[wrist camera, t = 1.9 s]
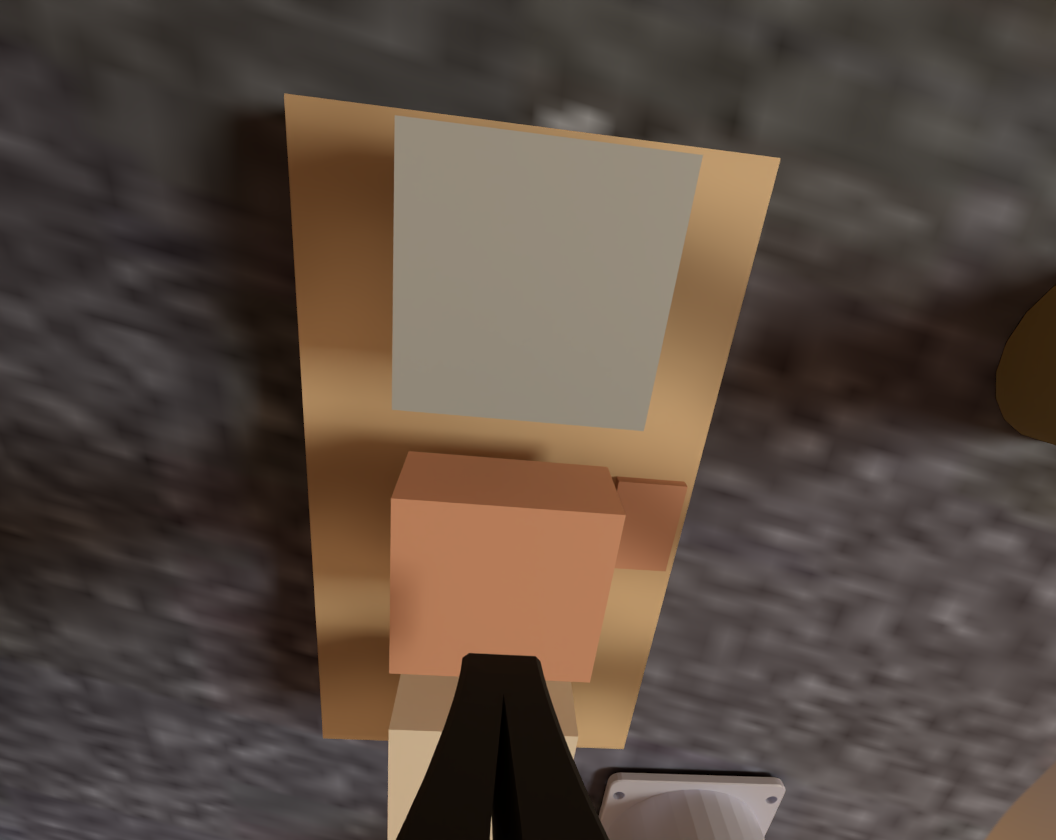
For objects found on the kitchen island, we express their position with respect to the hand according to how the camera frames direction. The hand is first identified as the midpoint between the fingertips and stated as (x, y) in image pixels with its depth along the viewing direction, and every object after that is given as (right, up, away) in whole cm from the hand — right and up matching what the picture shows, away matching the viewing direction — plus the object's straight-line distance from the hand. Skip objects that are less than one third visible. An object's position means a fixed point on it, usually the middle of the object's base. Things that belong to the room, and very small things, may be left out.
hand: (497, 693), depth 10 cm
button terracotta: (0, +2, +4) cm, 5 cm away
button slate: (+1, +8, +2) cm, 8 cm away
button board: (0, +3, +8) cm, 8 cm away
